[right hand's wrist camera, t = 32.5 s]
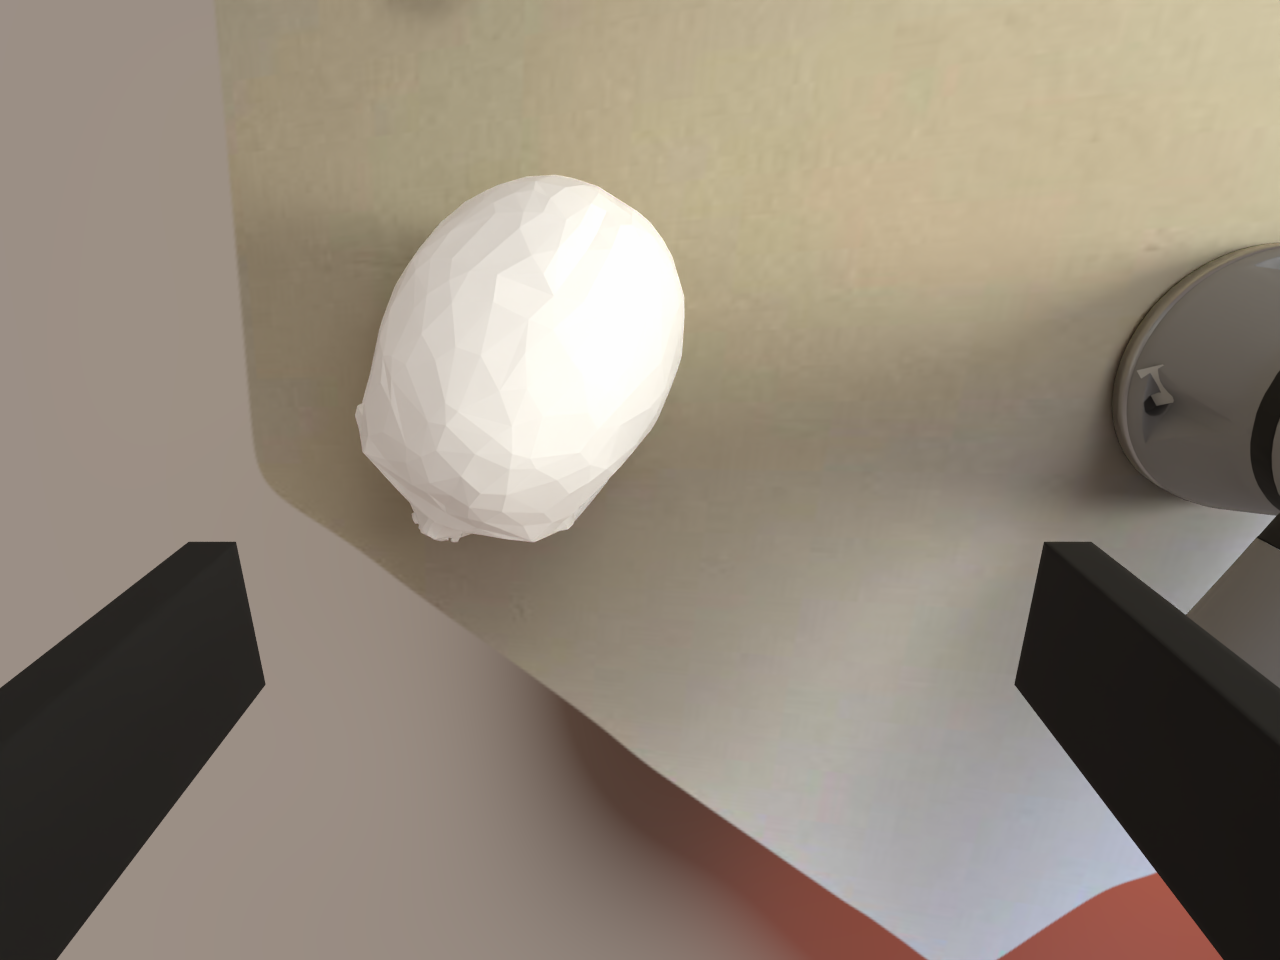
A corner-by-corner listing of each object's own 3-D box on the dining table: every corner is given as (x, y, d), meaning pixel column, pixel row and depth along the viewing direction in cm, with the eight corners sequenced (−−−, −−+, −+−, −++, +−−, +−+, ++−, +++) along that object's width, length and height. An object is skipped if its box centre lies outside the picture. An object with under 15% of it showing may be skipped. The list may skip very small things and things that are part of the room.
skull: (353, 478, 47) (234, 615, 32) (493, 130, 40) (423, 102, 25) (550, 562, 50) (523, 725, 35) (714, 249, 43) (767, 286, 28)
